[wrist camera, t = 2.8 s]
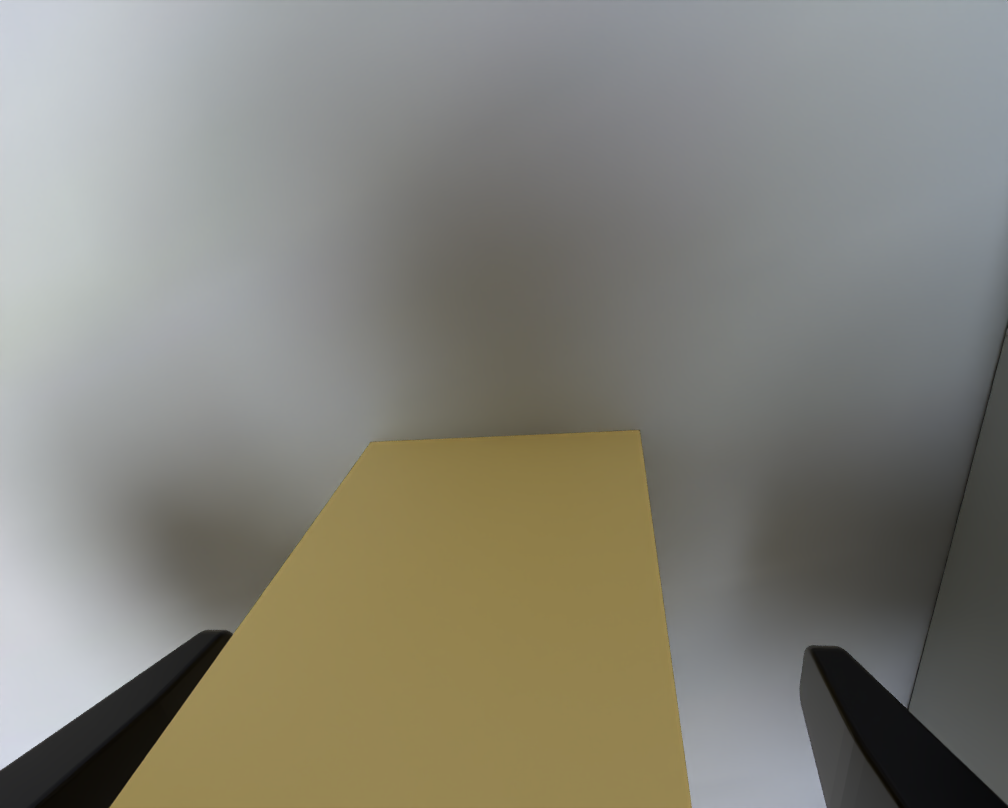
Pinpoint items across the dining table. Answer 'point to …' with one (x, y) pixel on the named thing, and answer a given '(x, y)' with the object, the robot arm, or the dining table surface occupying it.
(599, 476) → the plug
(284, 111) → the dining table surface
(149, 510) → the dining table surface
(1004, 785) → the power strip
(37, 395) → the dining table surface
